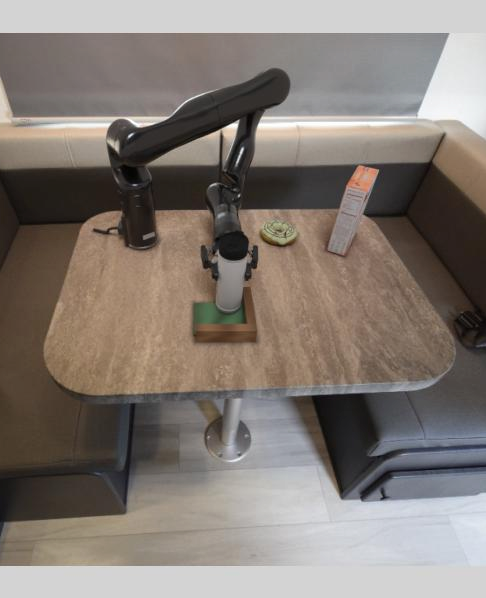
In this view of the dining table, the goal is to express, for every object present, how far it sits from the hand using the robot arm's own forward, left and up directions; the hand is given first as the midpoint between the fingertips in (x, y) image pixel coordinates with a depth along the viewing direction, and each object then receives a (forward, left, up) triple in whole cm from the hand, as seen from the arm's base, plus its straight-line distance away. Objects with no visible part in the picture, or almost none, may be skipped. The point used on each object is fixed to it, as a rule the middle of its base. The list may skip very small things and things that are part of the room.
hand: (232, 278), depth 77 cm
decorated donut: (+17, +31, -12) cm, 37 cm away
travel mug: (0, +2, -11) cm, 11 cm away
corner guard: (-2, -2, -11) cm, 12 cm away
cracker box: (+36, +29, -12) cm, 48 cm away
